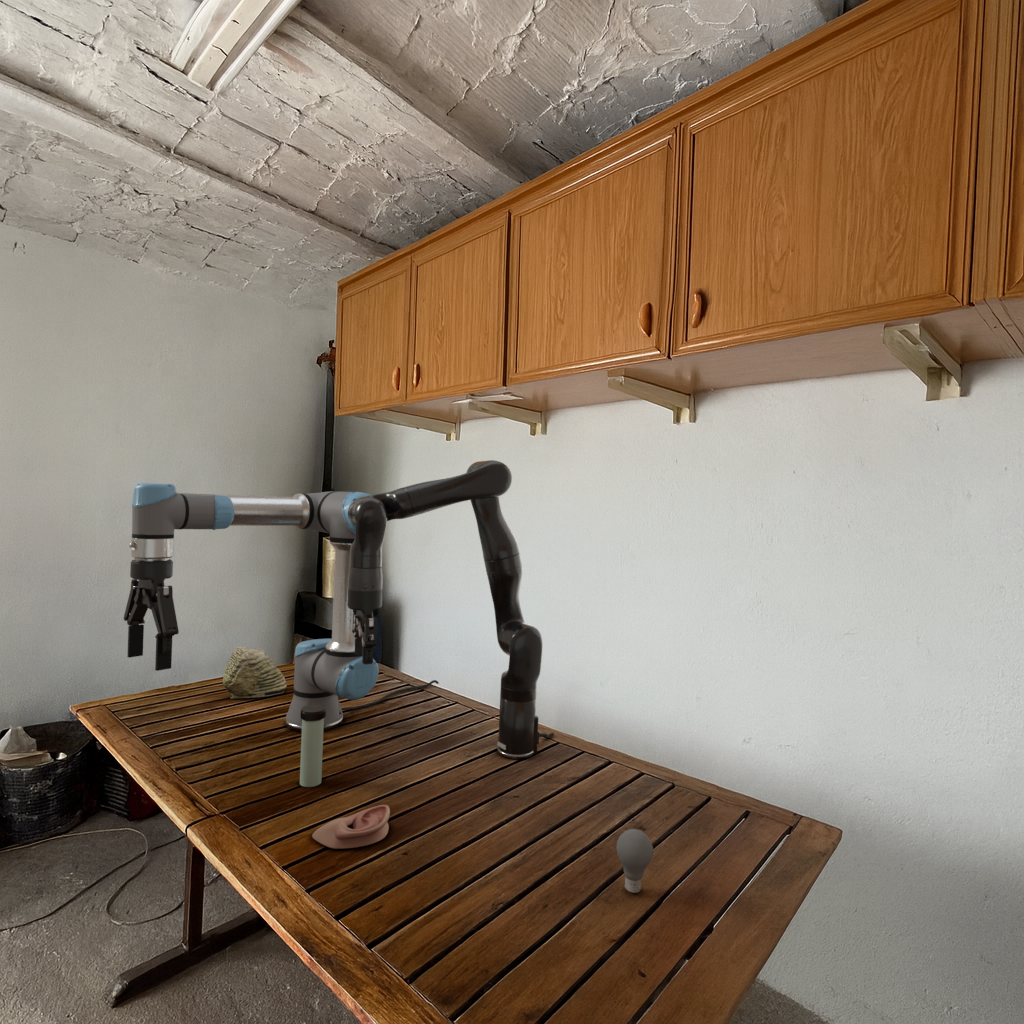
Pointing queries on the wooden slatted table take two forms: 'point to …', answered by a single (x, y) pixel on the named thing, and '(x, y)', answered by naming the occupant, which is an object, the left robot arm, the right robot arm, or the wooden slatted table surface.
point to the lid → (313, 712)
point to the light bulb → (634, 857)
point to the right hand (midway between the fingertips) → (363, 659)
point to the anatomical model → (355, 829)
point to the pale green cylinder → (311, 753)
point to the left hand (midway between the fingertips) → (148, 662)
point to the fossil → (252, 674)
